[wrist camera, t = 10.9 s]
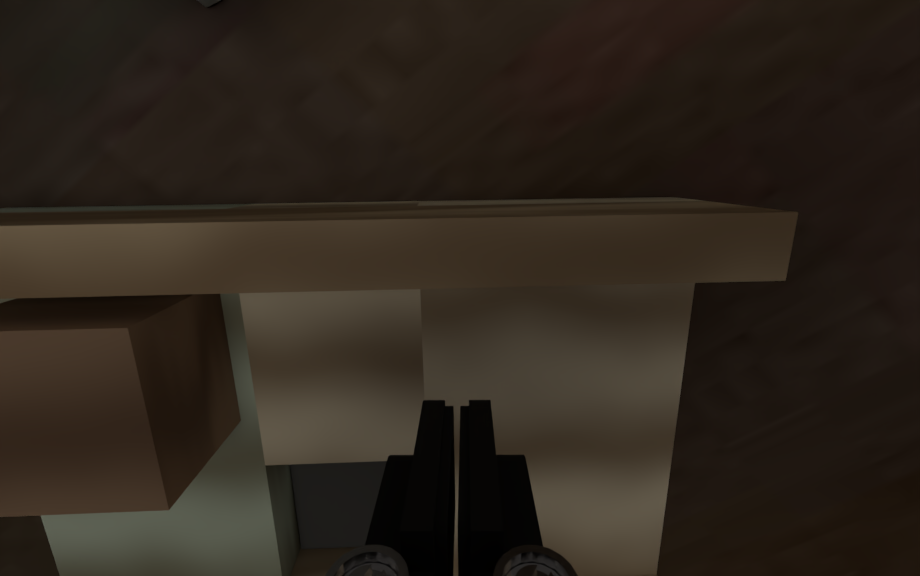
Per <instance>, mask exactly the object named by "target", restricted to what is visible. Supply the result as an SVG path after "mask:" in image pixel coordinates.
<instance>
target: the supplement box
mask: <svg viewBox="0 0 920 576" xmlns="http://www.w3.org/2000/svg"><path fill="white" fill-rule="evenodd" d="M197 1H198V2H200V3H201V4H202V5H203V6H205V7H209V6H211V5H212V4H214V3H217V2H219V1H220V0H197Z"/></svg>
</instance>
